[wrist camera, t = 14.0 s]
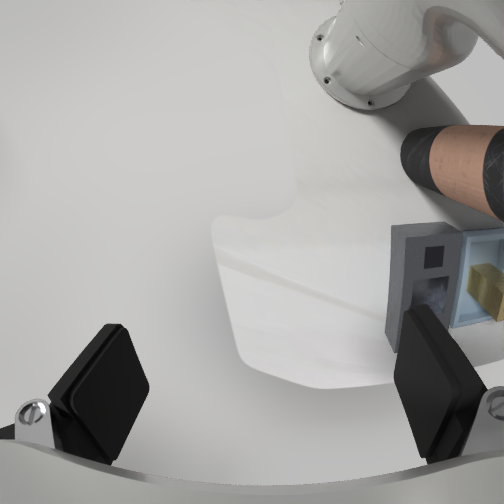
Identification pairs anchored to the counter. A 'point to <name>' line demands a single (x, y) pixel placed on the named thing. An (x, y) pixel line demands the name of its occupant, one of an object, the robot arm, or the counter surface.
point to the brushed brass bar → (487, 288)
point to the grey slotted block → (422, 272)
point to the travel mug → (459, 164)
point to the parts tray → (472, 253)
